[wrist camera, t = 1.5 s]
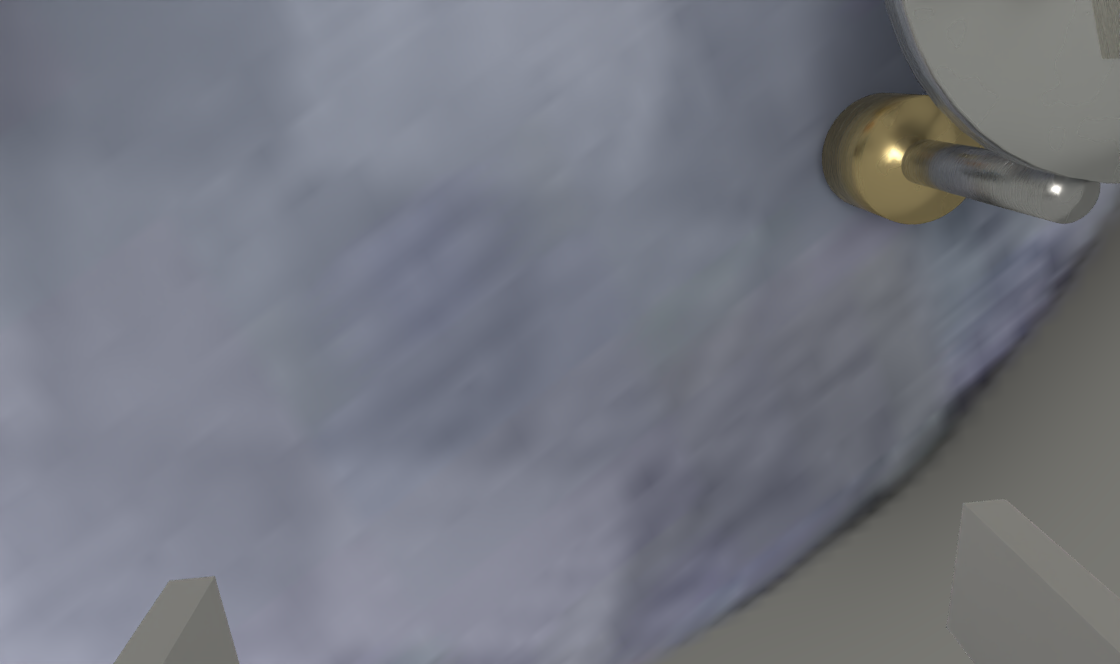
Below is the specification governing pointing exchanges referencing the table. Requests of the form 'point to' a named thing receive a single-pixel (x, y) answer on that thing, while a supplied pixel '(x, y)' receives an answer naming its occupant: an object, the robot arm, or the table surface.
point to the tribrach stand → (988, 112)
